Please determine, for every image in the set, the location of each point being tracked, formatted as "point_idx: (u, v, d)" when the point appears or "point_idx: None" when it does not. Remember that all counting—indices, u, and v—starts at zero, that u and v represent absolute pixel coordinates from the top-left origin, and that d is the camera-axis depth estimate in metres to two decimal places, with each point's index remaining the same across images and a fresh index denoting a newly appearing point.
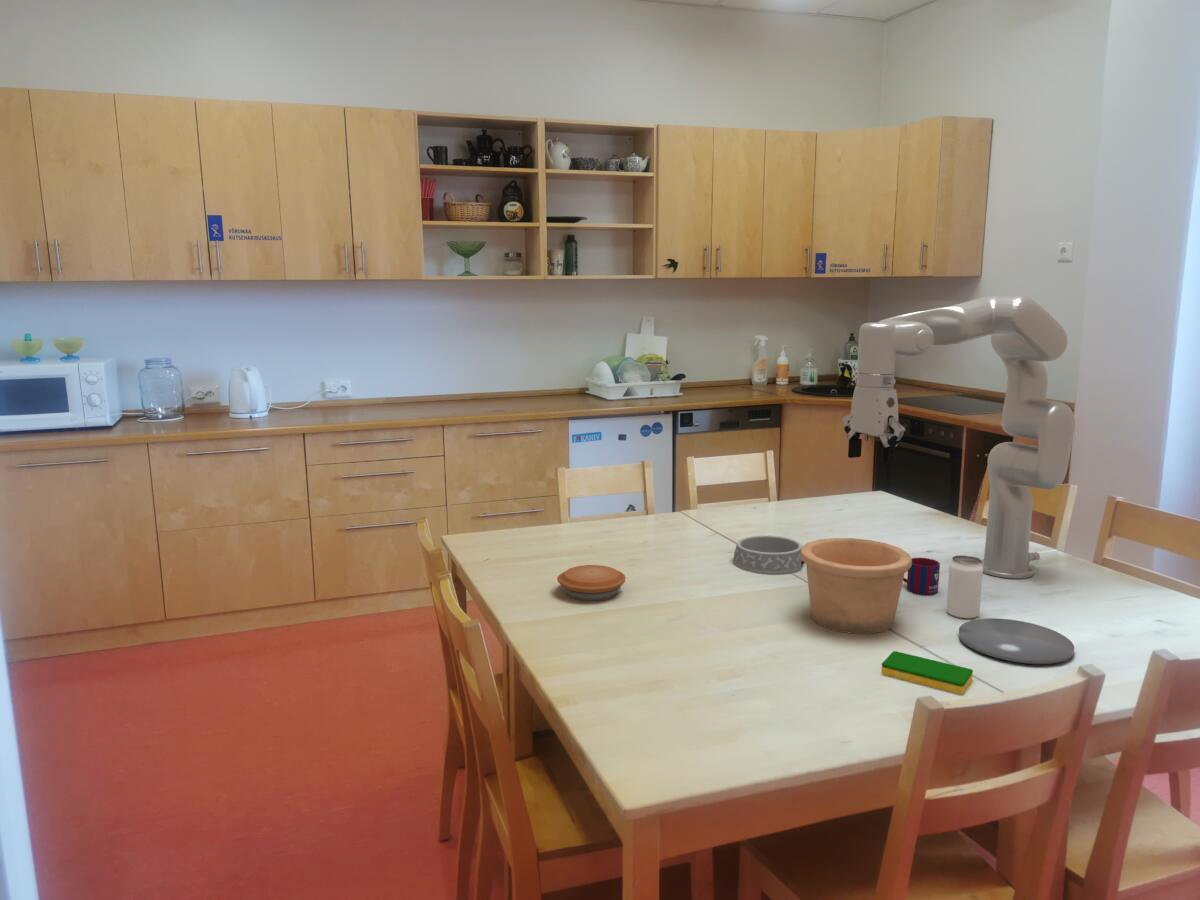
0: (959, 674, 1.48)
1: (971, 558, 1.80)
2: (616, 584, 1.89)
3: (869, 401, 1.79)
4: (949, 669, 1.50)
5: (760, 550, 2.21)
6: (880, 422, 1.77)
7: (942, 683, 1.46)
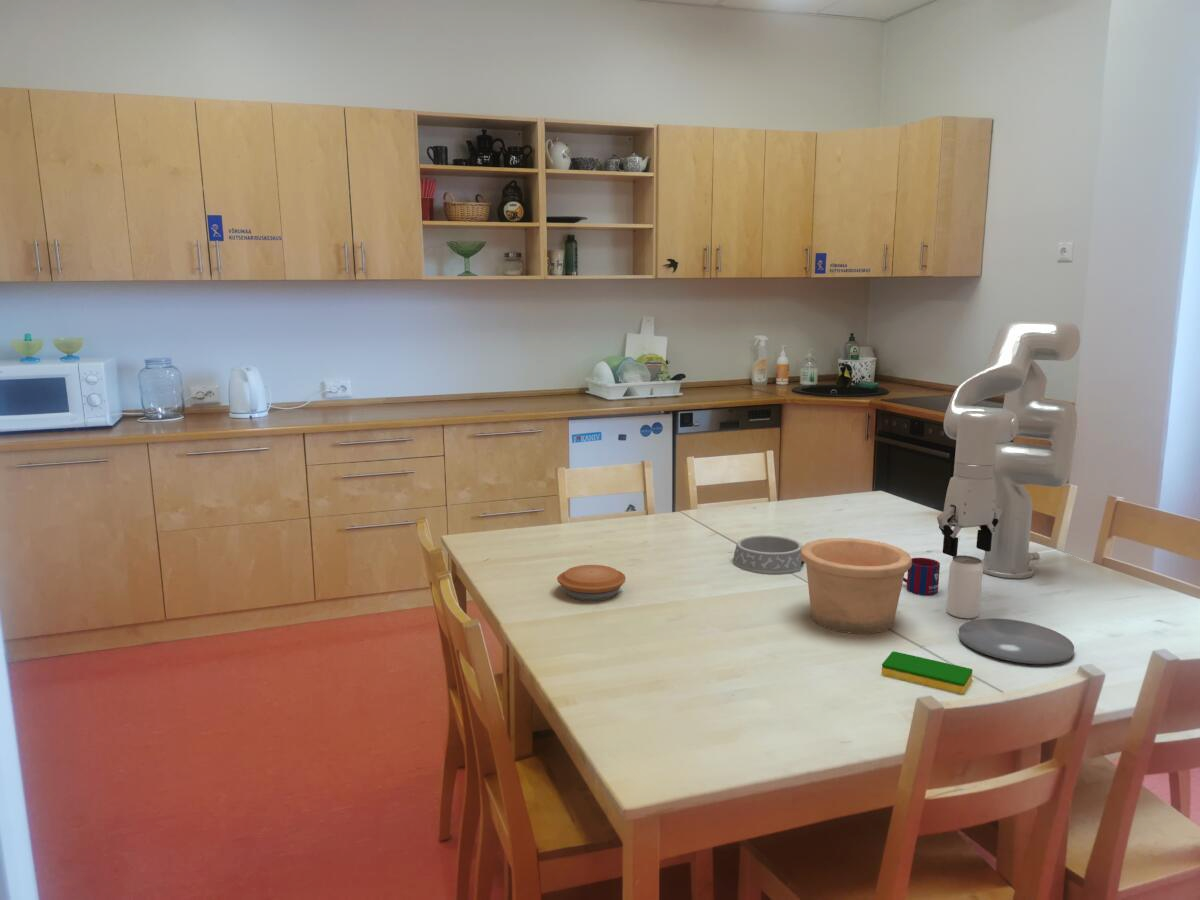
0: (959, 674, 1.48)
1: (971, 558, 1.80)
2: (616, 584, 1.89)
3: (986, 492, 1.74)
4: (949, 669, 1.50)
5: (760, 550, 2.21)
6: (993, 509, 1.76)
7: (943, 683, 1.46)
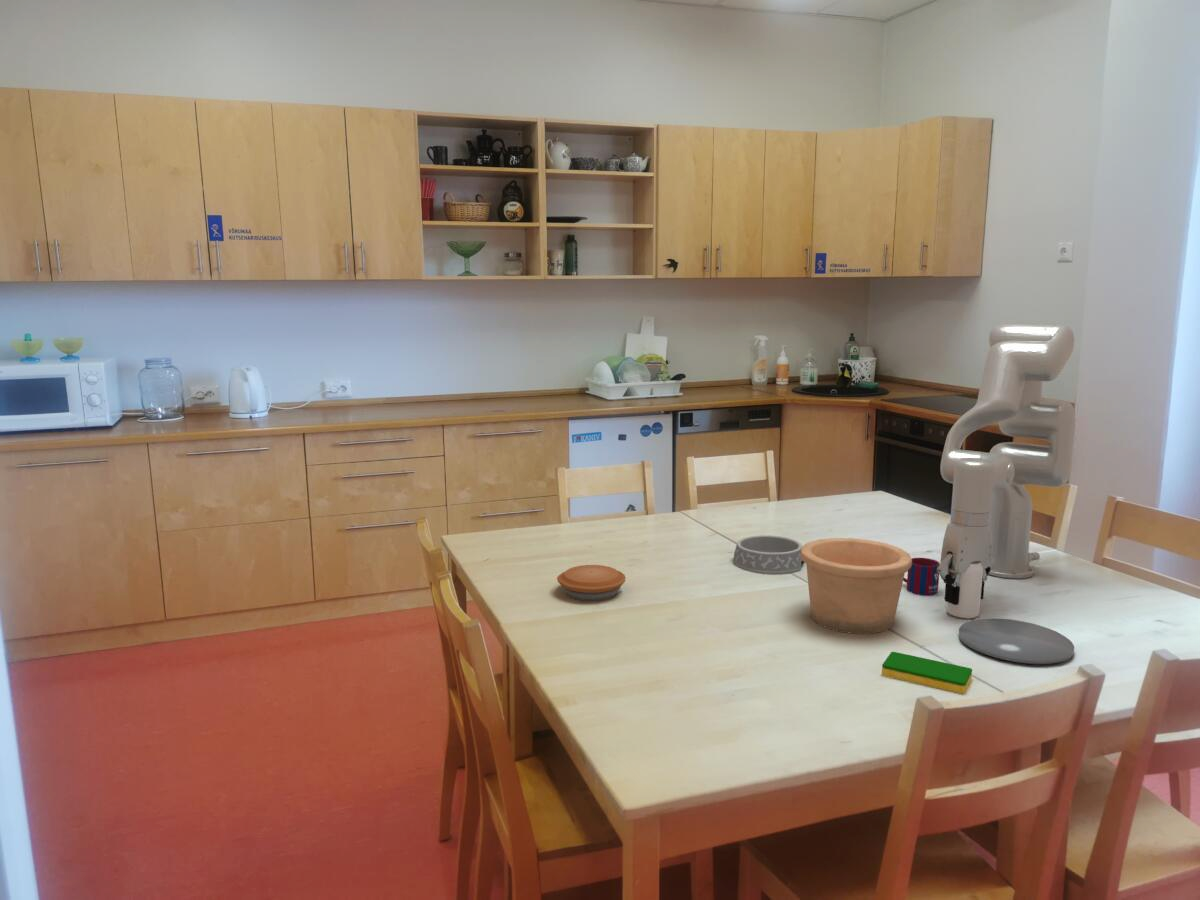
0: (959, 673, 1.48)
1: None
2: (616, 584, 1.89)
3: (983, 538, 1.76)
4: (949, 668, 1.50)
5: (760, 550, 2.21)
6: (990, 554, 1.79)
7: (944, 683, 1.46)
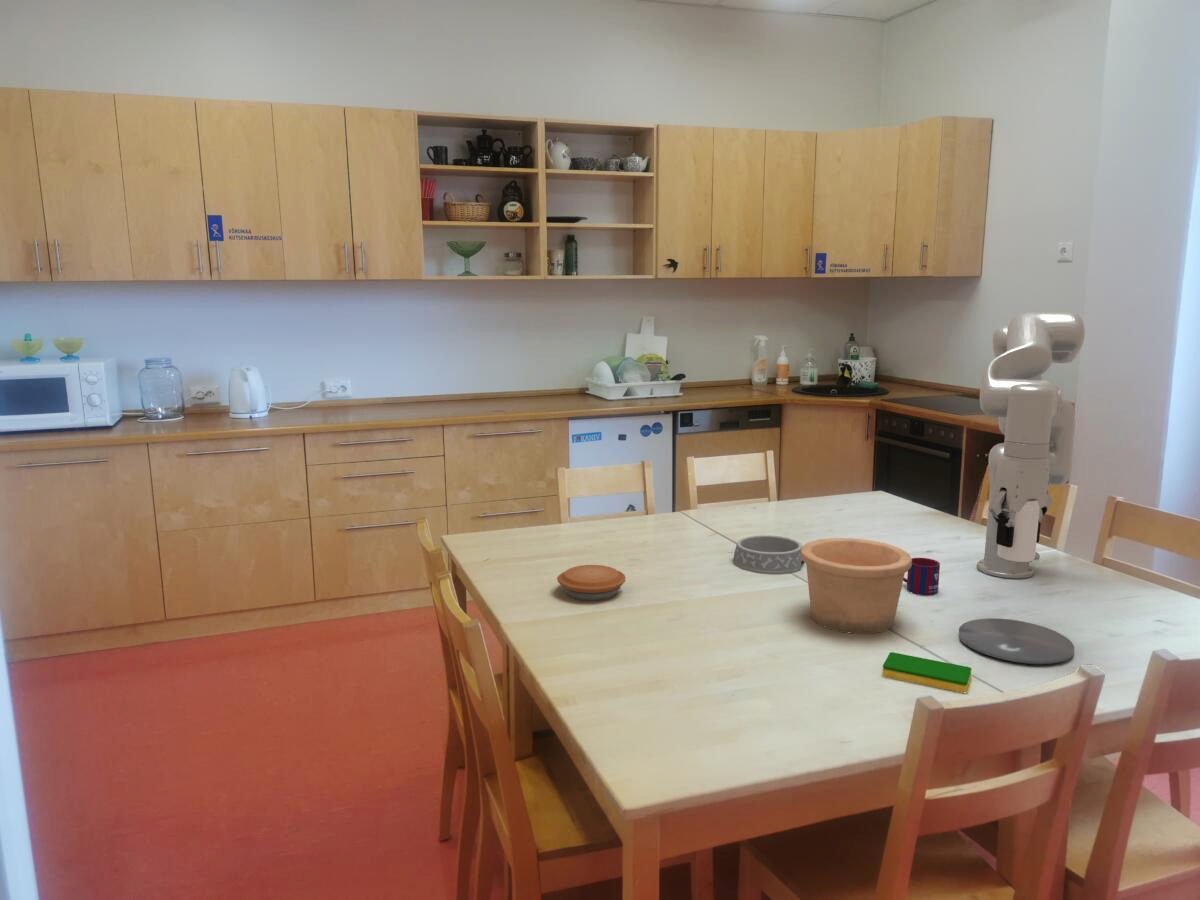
0: (960, 673, 1.48)
1: None
2: (616, 584, 1.89)
3: (1040, 473, 1.59)
4: (949, 668, 1.50)
5: (760, 550, 2.21)
6: (1047, 492, 1.61)
7: (945, 683, 1.46)
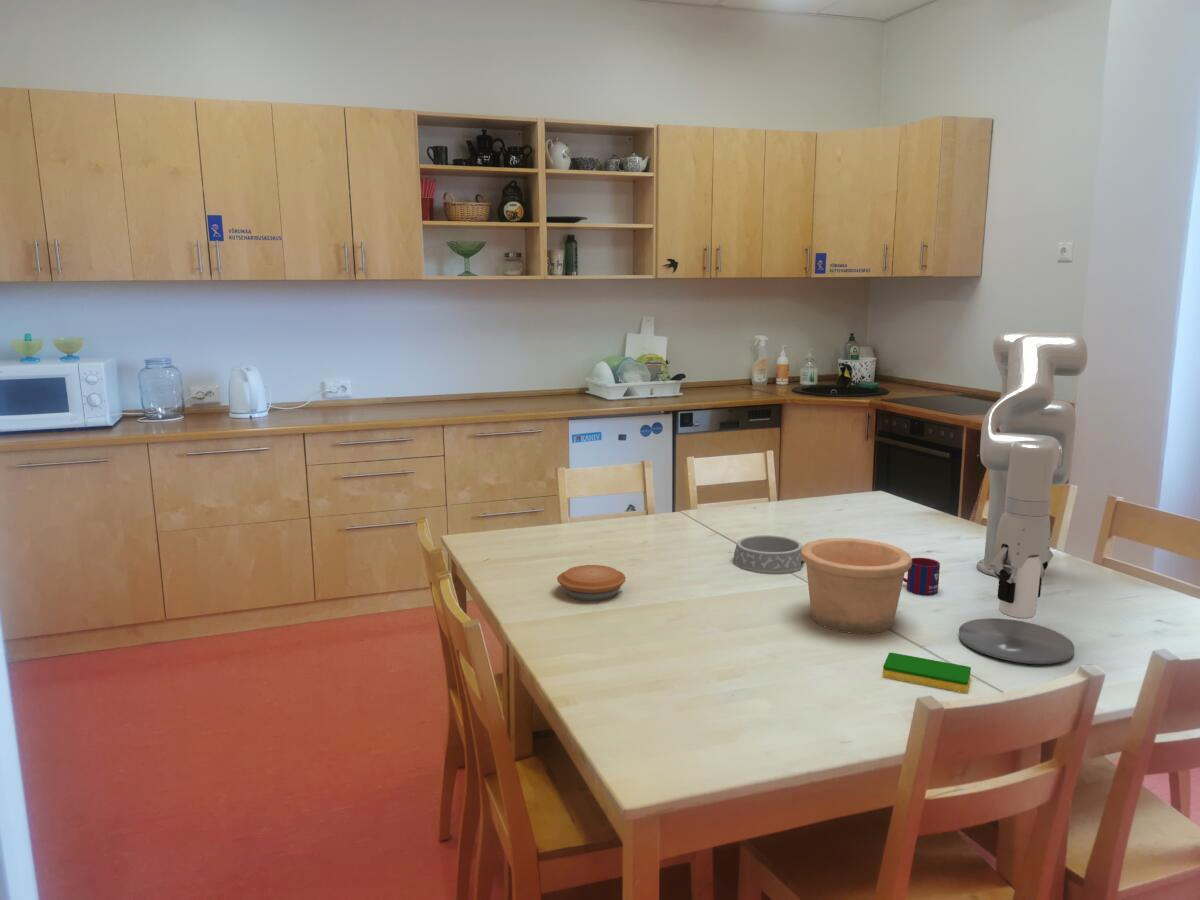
0: (960, 672, 1.48)
1: None
2: (616, 584, 1.89)
3: (1041, 529, 1.59)
4: (949, 668, 1.50)
5: (760, 550, 2.21)
6: (1048, 548, 1.61)
7: (946, 682, 1.46)
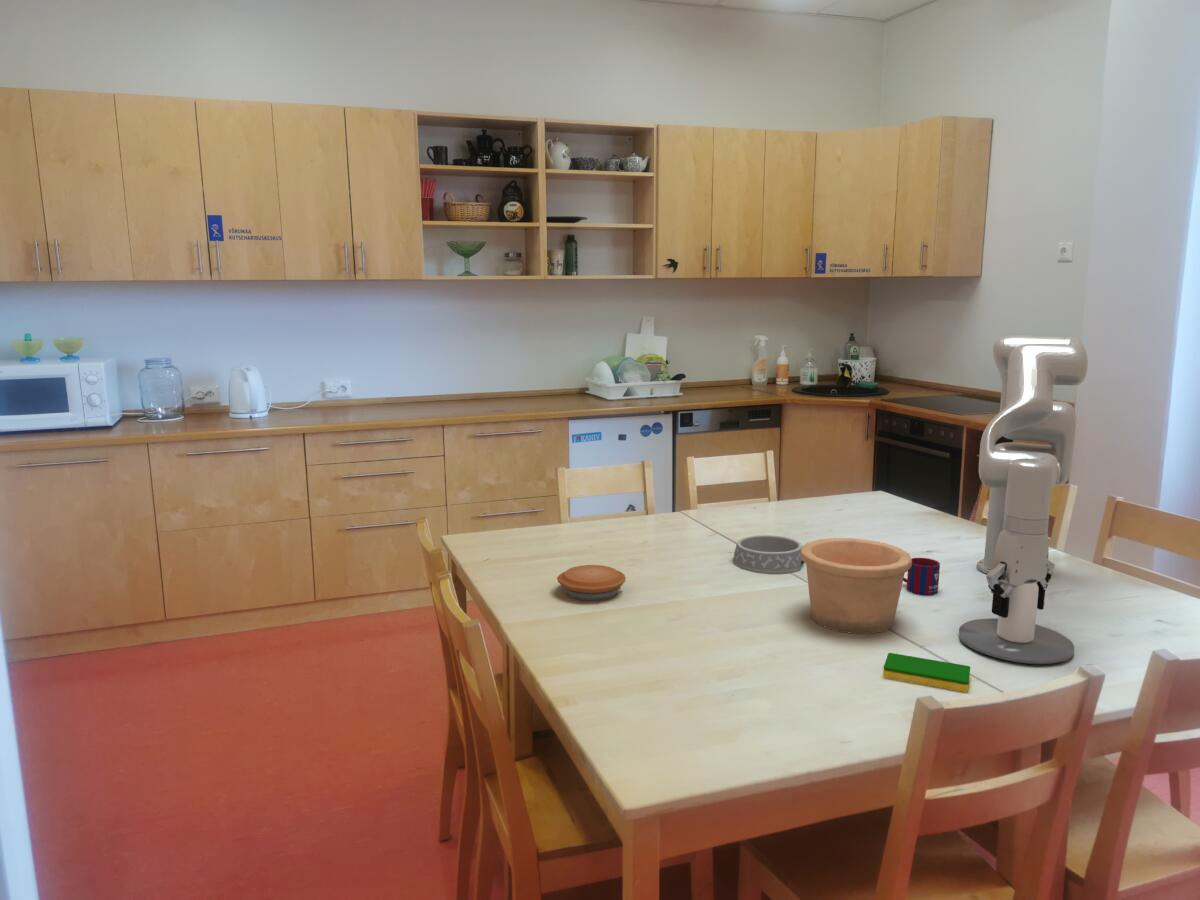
0: (960, 672, 1.49)
1: None
2: (616, 584, 1.89)
3: (1040, 547, 1.60)
4: (949, 667, 1.50)
5: (760, 550, 2.21)
6: (1047, 565, 1.62)
7: (947, 682, 1.46)
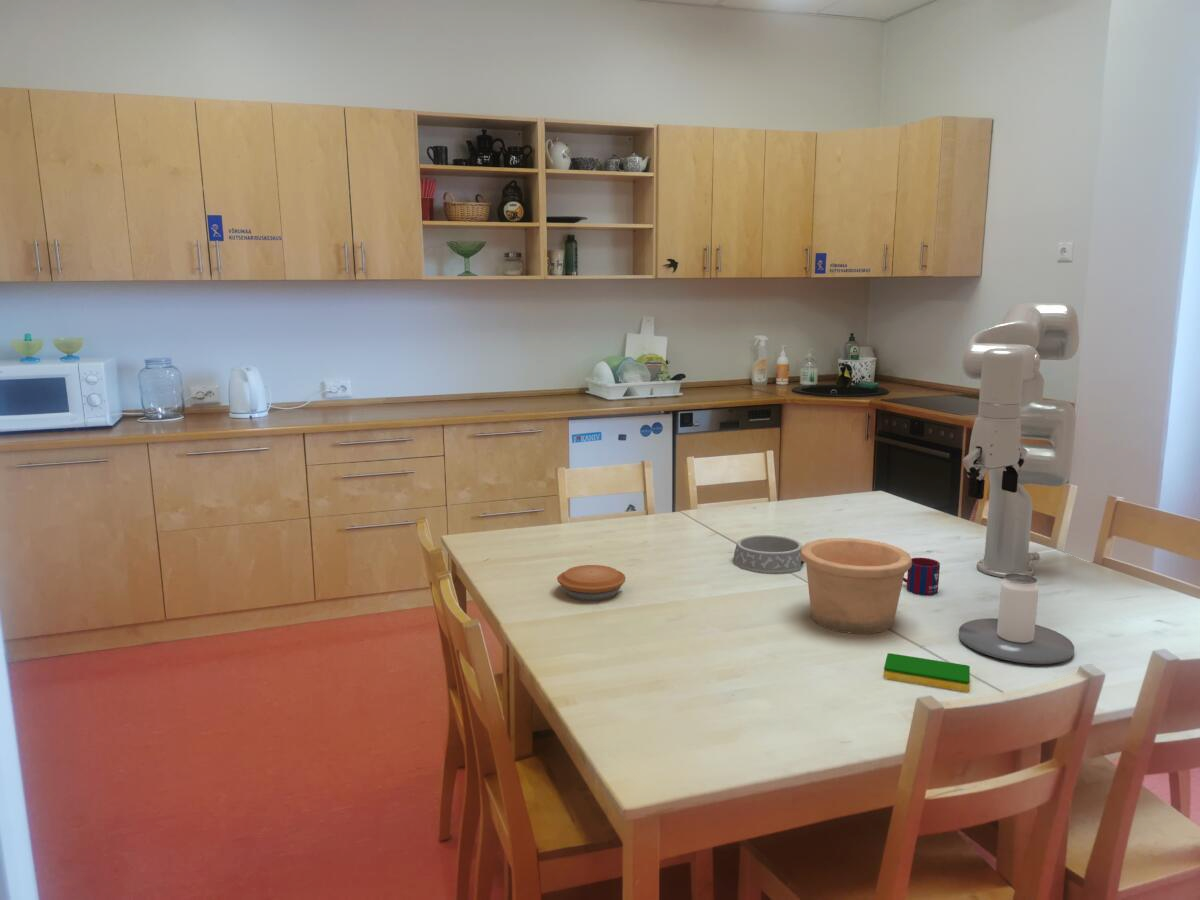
0: (960, 671, 1.49)
1: (1024, 576, 1.64)
2: (616, 584, 1.89)
3: (1012, 431, 1.69)
4: (948, 667, 1.50)
5: (760, 549, 2.22)
6: (1019, 449, 1.72)
7: (948, 682, 1.47)
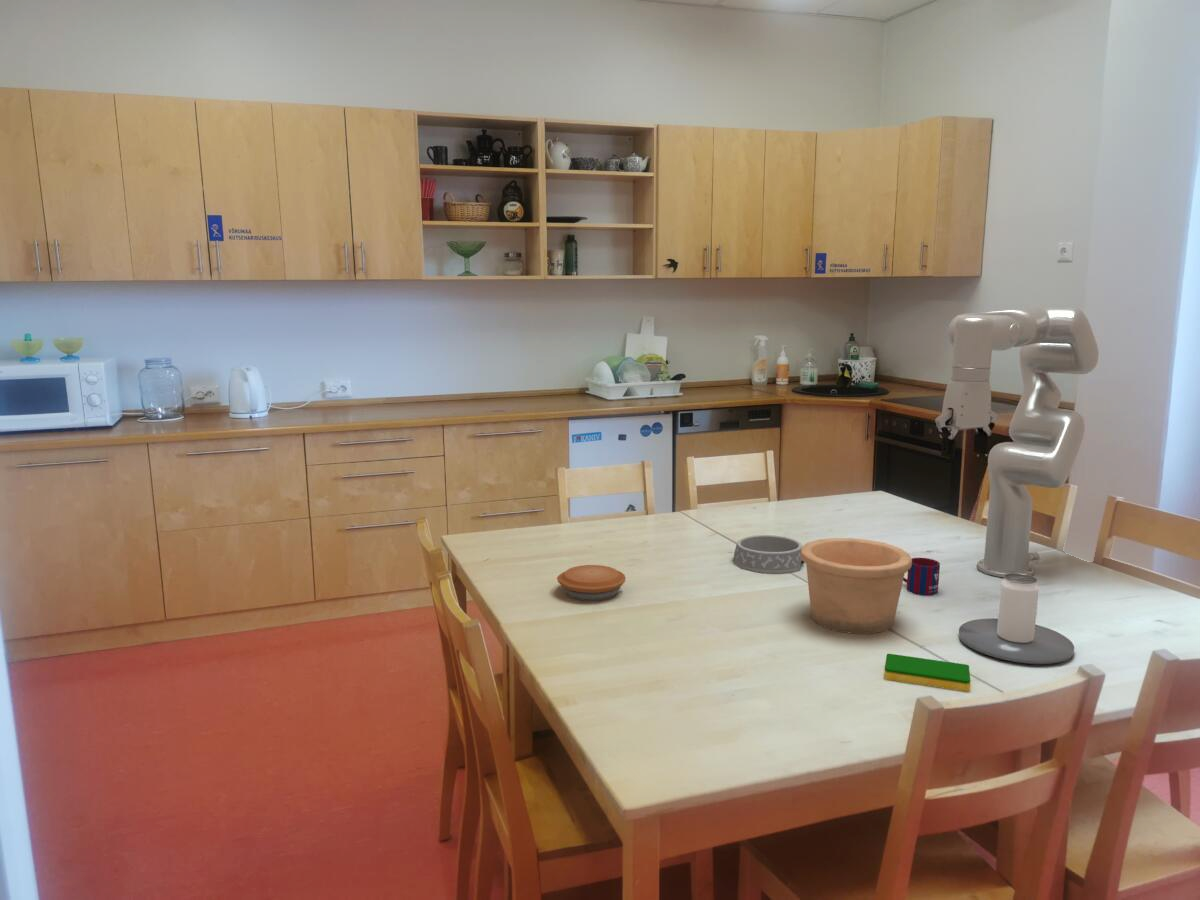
0: (960, 671, 1.49)
1: (1024, 576, 1.64)
2: (616, 584, 1.89)
3: (982, 395, 1.81)
4: (948, 667, 1.51)
5: (760, 549, 2.22)
6: (989, 412, 1.83)
7: (948, 682, 1.47)
